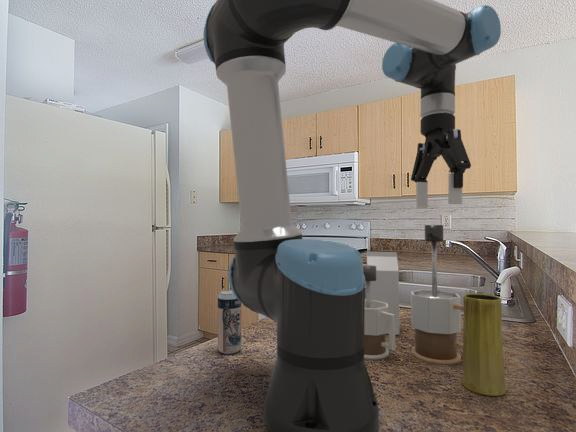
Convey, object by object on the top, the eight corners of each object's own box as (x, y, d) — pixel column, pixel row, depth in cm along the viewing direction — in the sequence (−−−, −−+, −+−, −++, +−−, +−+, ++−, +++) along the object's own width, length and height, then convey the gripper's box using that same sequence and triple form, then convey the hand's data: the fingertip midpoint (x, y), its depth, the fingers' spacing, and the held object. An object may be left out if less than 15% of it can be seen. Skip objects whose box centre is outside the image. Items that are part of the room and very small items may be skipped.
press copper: (456, 374, 58) (455, 304, 58) (402, 352, 68) (401, 292, 69) (486, 364, 63) (484, 298, 63) (430, 344, 73) (430, 288, 73)
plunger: (438, 303, 63) (437, 225, 63) (410, 296, 68) (409, 225, 69) (459, 299, 66) (458, 225, 66) (431, 293, 71) (430, 225, 72)
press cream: (378, 368, 61) (377, 271, 61) (341, 349, 70) (340, 265, 70) (408, 359, 65) (407, 268, 65) (369, 342, 74) (368, 263, 74)
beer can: (227, 357, 66) (227, 295, 66) (212, 351, 69) (213, 292, 70) (246, 350, 70) (246, 291, 70) (231, 344, 73) (231, 288, 73)
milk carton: (399, 335, 79) (398, 253, 79) (367, 333, 80) (367, 253, 81) (396, 326, 86) (395, 251, 86) (367, 325, 87) (366, 250, 88)
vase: (514, 398, 50) (512, 301, 51) (469, 395, 51) (467, 299, 52) (496, 379, 56) (494, 293, 57) (456, 377, 57) (455, 292, 58)
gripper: (490, 98, 69) (490, 202, 68) (424, 132, 94) (423, 209, 93) (456, 95, 68) (455, 201, 67) (398, 130, 92) (397, 208, 92)
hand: (437, 206), depth 80 cm, fingers open, 13 cm apart
